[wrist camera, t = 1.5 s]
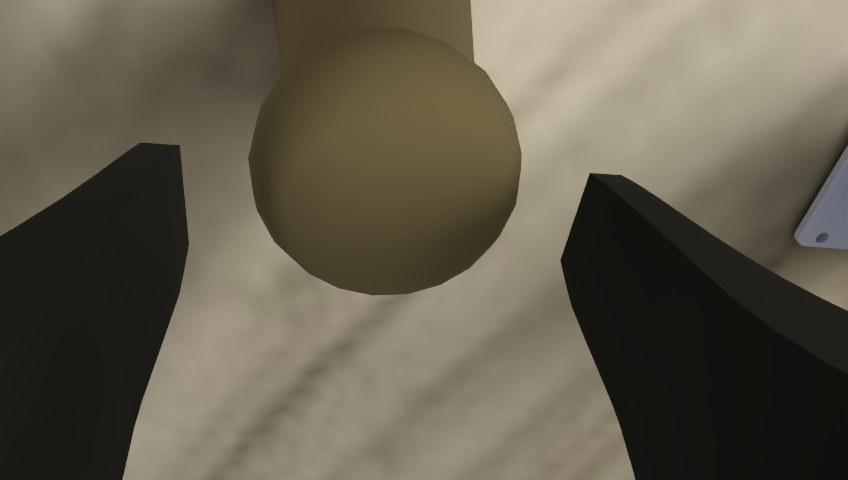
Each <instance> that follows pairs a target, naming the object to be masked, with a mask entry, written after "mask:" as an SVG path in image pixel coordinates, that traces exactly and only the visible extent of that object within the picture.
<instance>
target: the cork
mask: <svg viewBox="0 0 848 480" xmlns="http://www.w3.org/2000/svg"><path fill="white" fill-rule="evenodd" d="M274 8H275V18H276V28H277V37H278V45H279V54H280V62H281V71H282V75H281V77H280V78H279V80H278V81H277V83H276V84H275V86H274V87H273V89H272V90H271V92H270V93H269V95H268V96H267V98H266V99H265V101H264V102H263V104H262V105H261V108H260V112H259V115H258V118H257V122H256V127H255V131H254V135H253V140H252V144H251V149H250V153H249V157H248V160H249V167H250V174H251V181H252V187H253V194H254V199H255V203H256V207H257V211H258V213H259V215H260V216H261V218H262V220H263V222H264V224H265V226H266V227H267V229H268V231H269V233H270V235H271V236H272V238H273V240H274V242H275V243H276V244H277V245H278V246H280V247H281V248H282V249H283V250H284V251H285V252H286V253H287V254H288V255H289V256H290V257H292V258H293V259H294V260H295V261H296V262H297V263H298V264H299V265H300V266H301V267H302V268H304V269H305V270H306V271H307V272H308V273H309V274H311V275H313V276H315V277H317V278H319V279H321V280H323V281H325V282H327V283H329V284H331V285H333V286H336V287H338V288H340V289H345V290H350V291H355V292H359V293H364V294H369V295H394V294H409V293H413V292H416V291H420V290H423V289H427V288H431V287H434V286H438V285H441V284H442V283H444V282H446V281H448V280H449V279H451V278H453V277H455V276H456V275H458V274H460V273H462V272H463V271H465V270H467V269H469V268H470V267H471V266H472V265H473V264H474V263H475V262H476V261H477V260H478V259H479V258H480V257H481V256H482V255H483V254H484V253H485V252H486V251H487V250H488V249H489V248H490V247H491V246H492V245H493V243H494V242H495V241H496V240H497V238H498V237H499V236H500V234H501V232H502V230H503V228H504V226H505V224H506V222H507V220H508V219H509V217H510V215H511V213H512V211H513V209H514V207H515V205H516V200H517V193H518V186H519V178H520V171H521V155H522V154H521V149H520V145H519V140H518V136H517V131H516V127H515V123H514V118H513V116H512V114H511V112H510V109H509V107H508V105H507V103H506V102H505V100H504V99H503V97H502V96H501V94H500V93H499V91H498V90H497V88H496V87H495V85H494V84H493V82H492V81H491V79H490V78H489V76H488V75H487V73H486V72H485V71H484V70H483V69H482V68H480V67H479V66H478V65H476V64H475V63H474V53H473V36H472V19H471V3H470V0H274Z"/></svg>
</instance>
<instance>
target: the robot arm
mask: <svg viewBox="0 0 848 480" xmlns="http://www.w3.org/2000/svg"><path fill="white" fill-rule="evenodd" d="M820 234H821V235H820ZM818 235H819V236H818ZM817 236H818V237H817ZM794 237H795V239H796V240H797V241H798V243H799V244H800V245H802V246H809V247H822V248H836V249H848V145H847V147H846V149H845V150H844V152H843V154H842V155H841V157H840V159H839V160H838V162H837V164H836V165H835V167H834V169H833V170H832V172H831V174H830V175H829V177H828V179H827V180H826V182H825V183H824V185H823V187H822V188H821V190H820V192H819V193H818V195H817V197H816V198H815V200H814V202H813V203H812V205H811V207H810V208H809V210H808V212H807V213H806V215H805V217H804V218H803V220H802V222H801V223H800V225H799V226H798V228H797V230H796V232H795V234H794ZM188 246H189V240H188V230H187V219H186V208H185V198H184V187H183V176H182V166H181V155H180V145H167V144H152V143H140V144H138V145H136V146H135V147H133V148H132V149H130V150H129V151H127V152H126V153H125V154H123V155H122V156H121V157H119V158H118V159H116V160H115V161H114V162H112V163H111V164H110V165H108V166H107V167H105V168H104V169H103V170H101V171H100V172H99V173H97V174H96V175H94V176H93V177H92V178H90V179H89V180H87V181H86V182H84V183H83V184H82V185H80V186H79V187H77V188H76V189H74V190H73V191H72V192H70V193H69V194H67V195H66V196H64V197H63V198H61V199H60V200H58V201H57V202H55V203H54V204H52V205H50V206H49V207H47V208H46V209H44V210H42V211H41V212H39V213H38V214H36V215H34V216H33V217H31V218H30V219H28V220H26V221H25V222H23V223H22V224H20V225H18V226H17V227H15V228H14V229H12V230H10V231H8V232H7V233H5V234H3V235H1V236H0V480H122V479H123V474H124V470H125V466H126V461H127V457H128V452H129V448H130V444H131V439H132V435H133V430H134V426H135V423H136V419H137V416H138V413H139V409H140V406H141V402H142V399H143V396H144V394H145V391H146V388H147V385H148V382H149V379H150V377H151V374H152V371H153V368H154V365H155V362H156V359H157V357H158V354H159V351H160V348H161V345H162V342H163V340H164V337H165V334H166V331H167V328H168V325H169V322H170V319H171V316H172V314H173V311H174V308H175V305H176V302H177V299H178V296H179V293H180V288H181V283H182V278H183V273H184V268H185V262H186V257H187V252H188ZM561 264H562V269H563V273H564V278H565V282H566V286H567V290H568V294H569V298H570V302H571V305H572V308H573V310H574V313H575V316H576V318H577V321H578V323H579V325H580V328H581V330H582V333H583V335H584V338H585V340H586V343H587V345H588V347H589V350H590V352H591V354H592V357H593V359H594V362H595V364H596V366H597V369H598V371H599V374H600V376H601V378H602V381H603V383H604V385H605V388H606V390H607V393H608V395H609V397H610V400H611V402H612V405H613V407H614V410H615V413H616V416H617V418H618V421H619V424H620V427H621V430H622V434H623V437H624V441H625V444H626V448H627V451H628V455H629V458H630V461H631V465H632V468H633V472H634V475H635V479H636V480H848V311H847V310H845V309H842V308H840V307H838V306H836V305H834V304H832V303H830V302H828V301H826V300H824V299H822V298H820V297H818V296H816V295H814V294H812V293H810V292H808V291H806V290H804V289H803V288H801V287H799V286H797V285H795V284H793V283H791V282H789V281H787V280H785V279H783V278H782V277H780V276H778V275H776V274H775V273H773V272H771V271H769V270H768V269H766V268H764V267H762V266H761V265H759V264H758V263H756V262H754V261H753V260H751V259H749V258H748V257H746V256H745V255H743V254H741V253H740V252H738V251H736V250H735V249H733V248H732V247H730V246H729V245H727V244H726V243H724V242H722V241H721V240H719V239H718V238H716V237H715V236H713V235H712V234H710V233H709V232H707V231H706V230H704V229H703V228H701V227H700V226H698V225H697V224H696V223H694V222H693V221H691V220H690V219H688V218H687V217H685V216H684V215H682V214H681V213H680V212H678V211H677V210H675V209H674V208H672V207H671V206H669V205H668V204H667V203H665V202H664V201H662V200H661V199H659V198H658V197H656V196H655V195H653V194H652V193H650V192H649V191H647V190H646V189H644V188H643V187H641V186H639V185H638V184H636V183H635V182H633V181H631V180H629V179H627V178H625V177H624V176H622V175H610V174H595V173H590V174H589V177H588V180H587V183H586V186H585V189H584V192H583V195H582V198H581V201H580V204H579V207H578V210H577V213H576V216H575V219H574V222H573V225H572V228H571V231H570V234H569V237H568V240H567V243H566V246H565V249H564V251H563V254H562V257H561Z"/></svg>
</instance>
